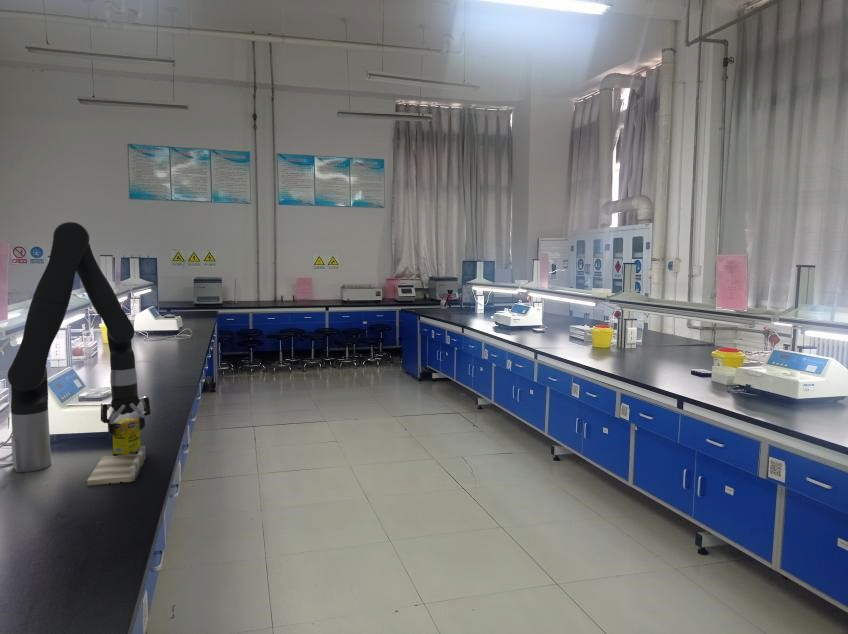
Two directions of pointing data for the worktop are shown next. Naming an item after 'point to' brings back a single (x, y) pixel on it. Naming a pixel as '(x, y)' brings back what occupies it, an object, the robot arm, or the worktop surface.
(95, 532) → the worktop surface
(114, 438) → the supplement box
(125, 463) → the cream serving tray
